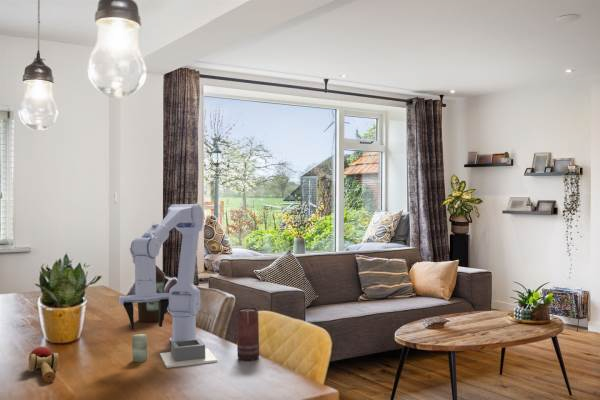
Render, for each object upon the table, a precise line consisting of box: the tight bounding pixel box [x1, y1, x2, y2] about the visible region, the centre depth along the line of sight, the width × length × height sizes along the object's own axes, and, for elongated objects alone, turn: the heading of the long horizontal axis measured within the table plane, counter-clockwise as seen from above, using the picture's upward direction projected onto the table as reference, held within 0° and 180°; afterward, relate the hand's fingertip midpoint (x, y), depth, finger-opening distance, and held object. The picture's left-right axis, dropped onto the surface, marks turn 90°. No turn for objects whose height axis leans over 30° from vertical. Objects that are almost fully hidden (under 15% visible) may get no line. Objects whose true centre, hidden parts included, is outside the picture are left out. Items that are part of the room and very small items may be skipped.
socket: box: [159, 338, 218, 369], centre depth 170 cm, size 14×14×4 cm
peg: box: [131, 333, 148, 363], centre depth 170 cm, size 4×4×7 cm
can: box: [236, 307, 260, 362], centre depth 169 cm, size 6×6×14 cm
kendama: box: [28, 346, 59, 383], centre depth 158 cm, size 8×6×18 cm
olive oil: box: [137, 265, 166, 323], centre depth 225 cm, size 11×11×25 cm
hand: (146, 327), depth 169 cm, fingers open, 7 cm apart
